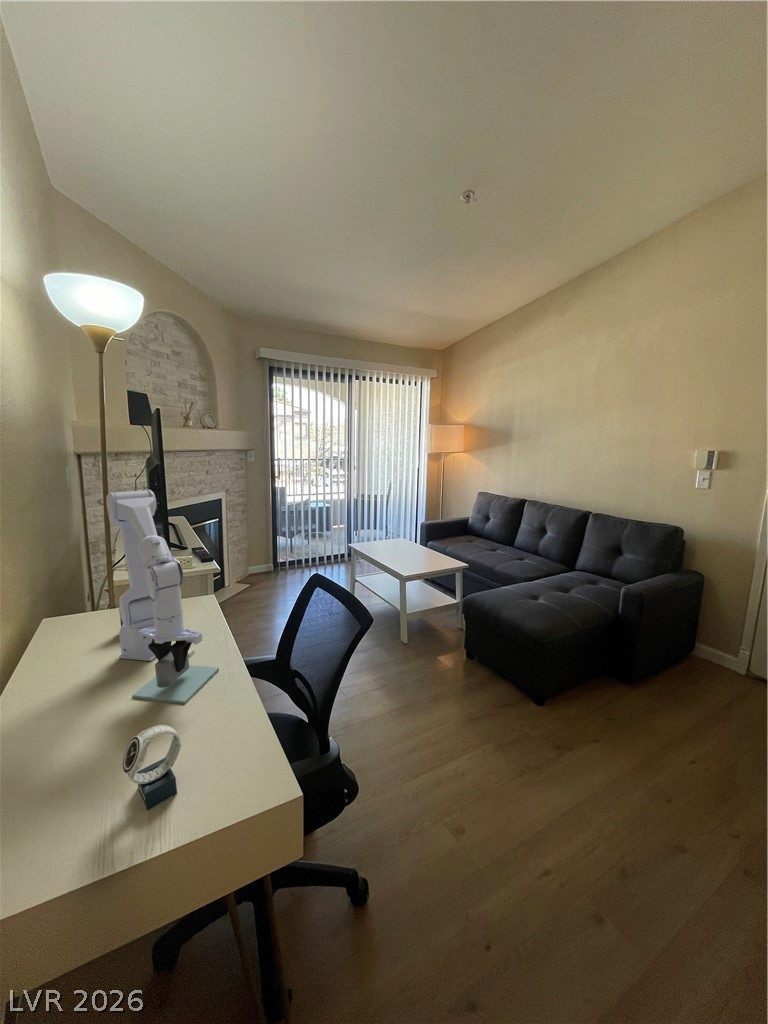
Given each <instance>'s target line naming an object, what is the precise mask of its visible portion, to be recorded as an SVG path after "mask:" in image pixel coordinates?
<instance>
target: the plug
mask: <svg viewBox="0 0 768 1024" xmlns="http://www.w3.org/2000/svg"><path fill="white" fill-rule="evenodd" d="M194 655H195V649H191V648H189V651H188V654H187V657H186V662H185V668H184V669H182V670H181V671H180V672H177V671H176V668H175V662H174V658H173V655H172V653H171V652H170V653H169V654H167V655H166V656H165V657H164V658H162V659H161V660H160V661H158V660H157V661H156V663H155V664H154V668H155V669H154V670H155V676H156V680H157V687H159V688H163V687H167V686H169V685H170V684H172V683H173V682H174V681H175V680H176V679H177V678H179V677H180V676H181V675H182V674H183V673H184V672H185V671H186V670H188V669H189V665H190V661H189V659H191V658H192V657H193V656H194Z"/></svg>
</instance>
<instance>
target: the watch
mask: <svg viewBox="0 0 768 1024" xmlns="http://www.w3.org/2000/svg"><path fill="white" fill-rule="evenodd" d="M165 734H169V735H172V739H171V743H170V747H169V749H168V751H167V753H166V755H165V757H164V758H161V759H159V760H158V761H156V762H153V763H151V764H150V765H148V766H146V767H144V768H142V767H143V765H144V762H145V759H146V757H147V753H148V748H149V745H150V744H151V741H152V739H153V738H155V737H157V736H160V735H165ZM181 747H182V742H181V738H180V736H179V735H178V733H177V731H176V730H175V729H174V727H172V726H170V725H167V724H158V725H154V726H151V727H149V728H146V729H145V730H142V731H141V732H139V734H137V735H136V736H133V737H132V738H131V739H130V741H129V742H128V745H127V746H126V749H125V752H124V755H123V760H122V769H123V773H124V774H127V776H128V778H129V780H130V781H131V782H132V783H134V784H137V789H138V793H139V794H140V797H141V800H142V802H143V804H144V806H146V807H145V809H146V811H147V810H148V811H149V810H151V809H153V808H154V807H156V806H159V805H160V804H162V803H163V802H165V801H167V800H169V799H170V797H171V796H172V797H174V796H175V794H176V795H177V794H178V789H177V780H176V775H175V774H174V772H173V770H172V767H173V766H174V764H175V762H176V760H177V759H178V756H179V754H180V750H181ZM172 797H171V798H172ZM168 798H169V799H168ZM166 799H167V800H166ZM161 802H162V803H161Z"/></svg>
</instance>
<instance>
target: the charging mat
mask: <svg viewBox="0 0 768 1024" xmlns="http://www.w3.org/2000/svg"><path fill="white" fill-rule="evenodd" d="M219 671H220V668H219V667H214V666H213V667H212V666H202V665H192V664H189V669H188V670H186V671H185V672H184V673H183V674H182V675H181V676H180V677H179V678H177V679H176V680H175V681H174V682H173V683H172V684H170V685H169V686H167V687H163V688H159V687H157V680H156V675H155V676H154V677H153V678H151V680H149V681H148V682H147V683H145V684H144V685H143V686H141V688H139V689H138V690H137V691H136V692H134V693H133V694H132V698H135V699H143V700H150V701H157V702H158V701H159V702H167V703H175V704H182V705H183V704H184V705H185V704H187V703H188V701H189V702H190V700H191V699H192V698H193V697H194V696H195V695H196V694H197V693H198V692H199V691H200V690H201V689H202V688H203V687H204V686H205V685H206V684H207V683H208V682H209V680H211V679H213V676H215V675H216V674H217V673H218V672H219Z"/></svg>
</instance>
